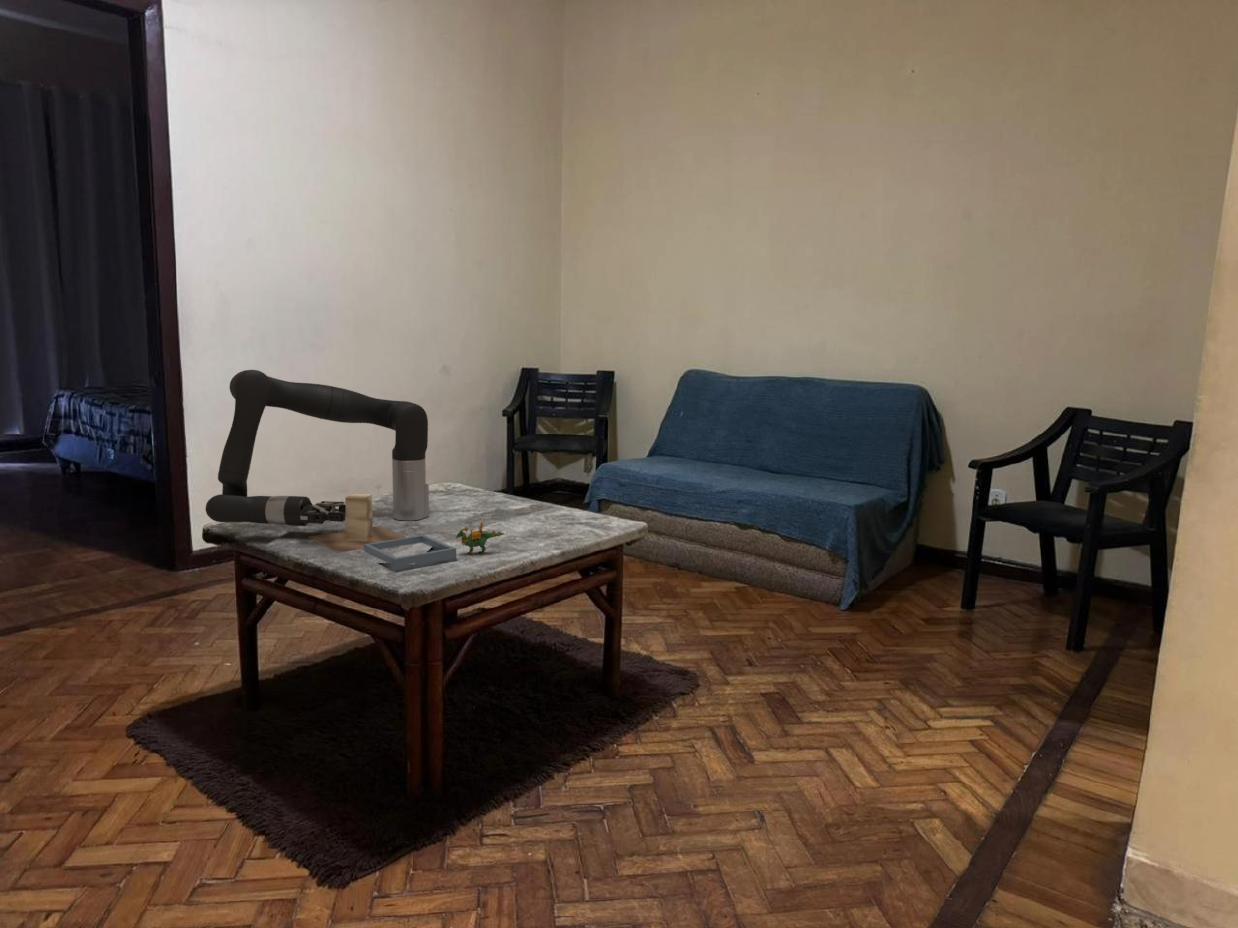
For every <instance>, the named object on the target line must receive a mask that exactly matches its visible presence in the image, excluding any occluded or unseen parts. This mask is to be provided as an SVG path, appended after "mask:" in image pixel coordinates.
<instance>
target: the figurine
mask: <svg viewBox="0 0 1238 928" xmlns="http://www.w3.org/2000/svg"><path fill="white" fill-rule="evenodd" d="M483 525H484V521H480V526H479V527H478V530H476V531H474V529H473V528H470V529H469V528H468V527H464V528H463V529H459V532H458V533H457V535H456V536H455V539H458V538H461V541H460V545H461V546H465V547H469V551H468V552H467V553H466V554H467V555H468V556H470V555H472V553H473V551H474V548H477V547H479V548H481V551H478V553H479V555H485V554H486V549H487V547H486V546H485V544H486V543H487V540H488V539H491V538H492V539H493V538H495V537H501V536H503V535H505V533H504V532H501V531H497V532H496V531H495V530H492V532H490V531H489V530H487V531H486V530H483ZM468 530H469V531H470V534H469V535H468V536H467V534H466V533H467V532H468ZM464 531H465V532H464Z"/></svg>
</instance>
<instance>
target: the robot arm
mask: <svg viewBox="0 0 1238 928" xmlns="http://www.w3.org/2000/svg"><path fill="white" fill-rule="evenodd" d="M229 392H230V394H231V396H232V398H233V399H234V401H235V402H234V412H233V420H232V423H231V427H230V430H229V433H228V436H227V439H226V442H225V444H224V447H223V450H222V455H221V457H220V458H221V459H220V463H219V467H218V473H217V481H218V482H220V484H221V485H222V489H221V490H222V491H221V492H222V494H220V493H219V494H216V495H214V496H211V498H209V499H208V501H206V503H205V513H206V515H207V517H209V519H210V520H212V521H214V522H217V523H244V522H245V523H254V524H264V525H265V524H267V525H271V524H272V525H276V526H291V527H293V526H294V527H295V526H296V527H305V526H308V524H319V525H322V524H324V523H329V522H341V523H342V522H344V521H345V522H346V505H345V503H344V501H330V500H329V501H327V500H326V501H325V500H322V501H320V502H316V503H315V504H313V503H312V501H311V499H310V498H309V497H308V496H299V495H297V496H295V495H250V496H248V477H249V474H250V473H249V472H250V469H251V462H252V460H253V459H252V457H253V453H254V448H255V444H256V443H255V442H256V438H257V434H258V430H259V426H260V423H261V420H262V417H263V414H264V411H265V409H266V407H271V408H279V409H282V410H283V409H284V410H288V411H292V412H294V413H297V414H301V415H304V416H309V417H312V418H315V419H320V420H325V421H332V422H336V423H345V424H346V423H348V424H370V425H376V426H379V427H382V428H387V429H389V430H393V431H395V442H394V447H393V448H392V451H391V458H392V459H391V461H392V463H391V466H392V467H391V468H392V469H391V470H392V514H393V515H392V518H393V519H394V520H398V521H418V520H423V519H426V518H428V517H430V504H429V503H430V498H429V497H430V496H429V495H430V494H429V493H430V491H429V490H430V487H429V484H428V483H427V482H426V481H427V480H426V479H427V477H426V473H427V472H426V470H427V469H426V452H427V449H428V441H429V437H428V436H429V434H428V433H429V420H428V414H427V412H426V410H425V409H424V408H423V406H421V405H419V404H417V403H414V402H411V401H406V400H391V399H383V398H382V399H381V398H375V397H371V396H368V395H366V394H362V393H360V392H357V391H354V390H350V389H346V388H342V387H337V386H333V385H328V384H327V385H326V384H322V383H321V384H319V383H310V382H308V383H307V382H296V381H295V382H294V381H287V380H282V379H279V378H275V377H271V376H268V375H267V374H266V373H265V372H263V371H261V370H258V369H247V370H246V369H245V370H241V371H240V372H238V373H236V374H235V375H234V376H232V378H231V379H230V382H229ZM336 507H337V508H336Z"/></svg>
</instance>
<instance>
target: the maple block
mask: <svg viewBox="0 0 1238 928" xmlns="http://www.w3.org/2000/svg"><path fill="white" fill-rule="evenodd" d="M344 500H345V503H344V505H346V513H345V531H346V541H367V540H369V539H370V538H371V537H373V527H374V526H373V524H374V523H373V522H374V521H373V494H370V493H367V494H365V493H351V494H350V495H348V496H346V497H345V499H344Z"/></svg>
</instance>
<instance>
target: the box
mask: <svg viewBox="0 0 1238 928" xmlns="http://www.w3.org/2000/svg"><path fill="white" fill-rule="evenodd" d="M419 543H423V544H425V545H428V546H430V548H429V549H428V550H427V551H426V552H422V553H415V554H410V555H406V556H405V555H404V556H400V557H399V556H398V557H396V556H395V555H392V554H391V553H388V552H387V551H384V550H383V549H388V548H394V547H399V546H406V545H407V546H408V545H413V544H419ZM363 550H364V552H366V553H368V554H369V555H372V556H374V557H377V559H380V560H382V561H383V562H377V564H379V565H380V566H382V567H384V568H387V569H388V570H390V571H392V572H395V573H396V572H397V573H398V572H403V571H408V570H413V569H418V568H424V567H430V566H434V565H440V564H445V563H449V562H450V563H451V562H455V561H457V548H456V547H454V546H452V545H449V544H448V543H445V542H442V541H441V540H437V539H435V538H433V537H430V536H427V535H425V534H420V535H415V536H408V537H407V538H400V539H394V540H388V541H382V542H376V543H370V544H364V548H363ZM413 563H414V564H413Z"/></svg>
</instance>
